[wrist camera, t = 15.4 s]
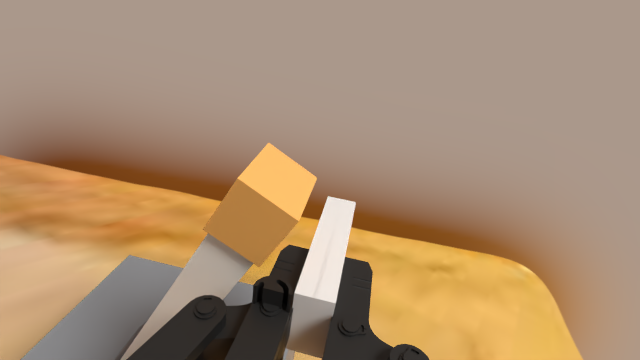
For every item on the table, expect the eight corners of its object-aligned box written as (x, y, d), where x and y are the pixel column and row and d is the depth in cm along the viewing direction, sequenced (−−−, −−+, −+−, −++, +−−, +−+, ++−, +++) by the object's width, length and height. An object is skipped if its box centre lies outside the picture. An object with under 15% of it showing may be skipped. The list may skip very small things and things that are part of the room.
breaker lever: (127, 425, 17) (299, 229, 10) (84, 400, 17) (230, 180, 10) (168, 359, 21) (320, 176, 14) (132, 337, 20) (269, 138, 13)
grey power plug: (184, 776, 15) (171, 741, 10) (-101, 666, 16) (-227, 591, 12) (314, 289, 41) (327, 215, 36) (199, 261, 42) (198, 187, 37)
